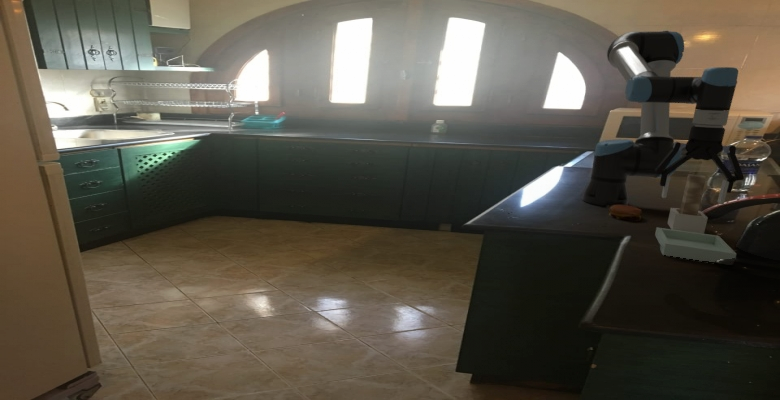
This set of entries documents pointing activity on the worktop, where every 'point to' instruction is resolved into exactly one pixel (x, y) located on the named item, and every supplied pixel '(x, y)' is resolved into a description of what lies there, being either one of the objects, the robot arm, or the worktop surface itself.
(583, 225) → the worktop surface
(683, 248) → the tray
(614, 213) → the burger
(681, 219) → the white square box
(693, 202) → the peg
